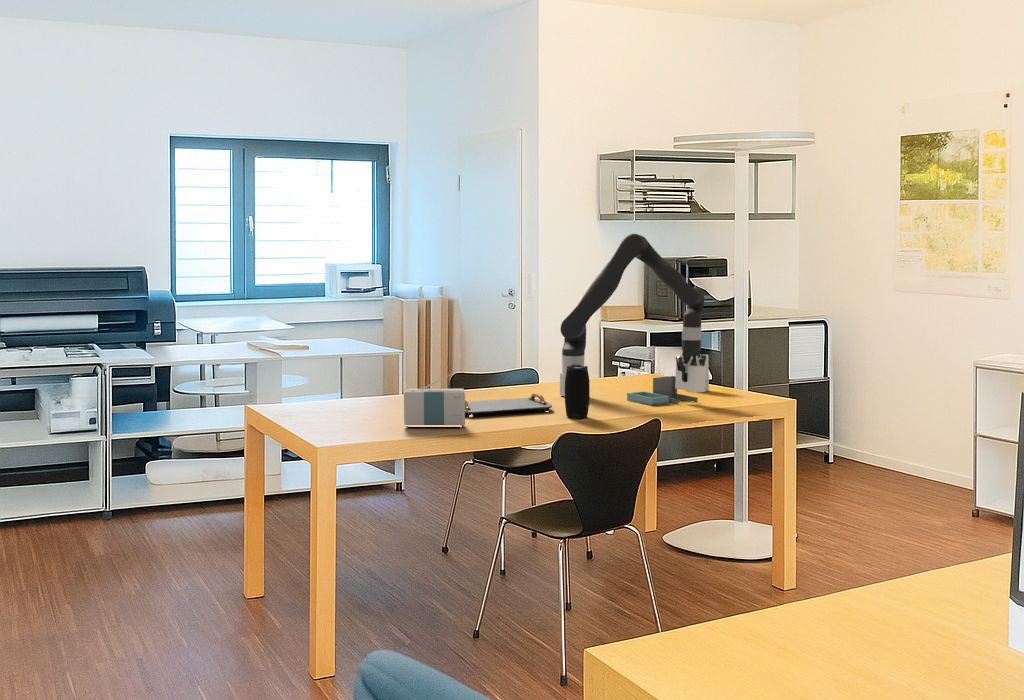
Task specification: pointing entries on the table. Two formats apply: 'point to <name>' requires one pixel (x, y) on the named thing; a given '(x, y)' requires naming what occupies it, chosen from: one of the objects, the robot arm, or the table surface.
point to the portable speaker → (577, 391)
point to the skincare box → (707, 373)
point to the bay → (669, 389)
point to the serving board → (507, 405)
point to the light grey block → (692, 378)
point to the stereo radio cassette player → (434, 406)
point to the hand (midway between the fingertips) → (690, 381)
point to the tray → (648, 398)
